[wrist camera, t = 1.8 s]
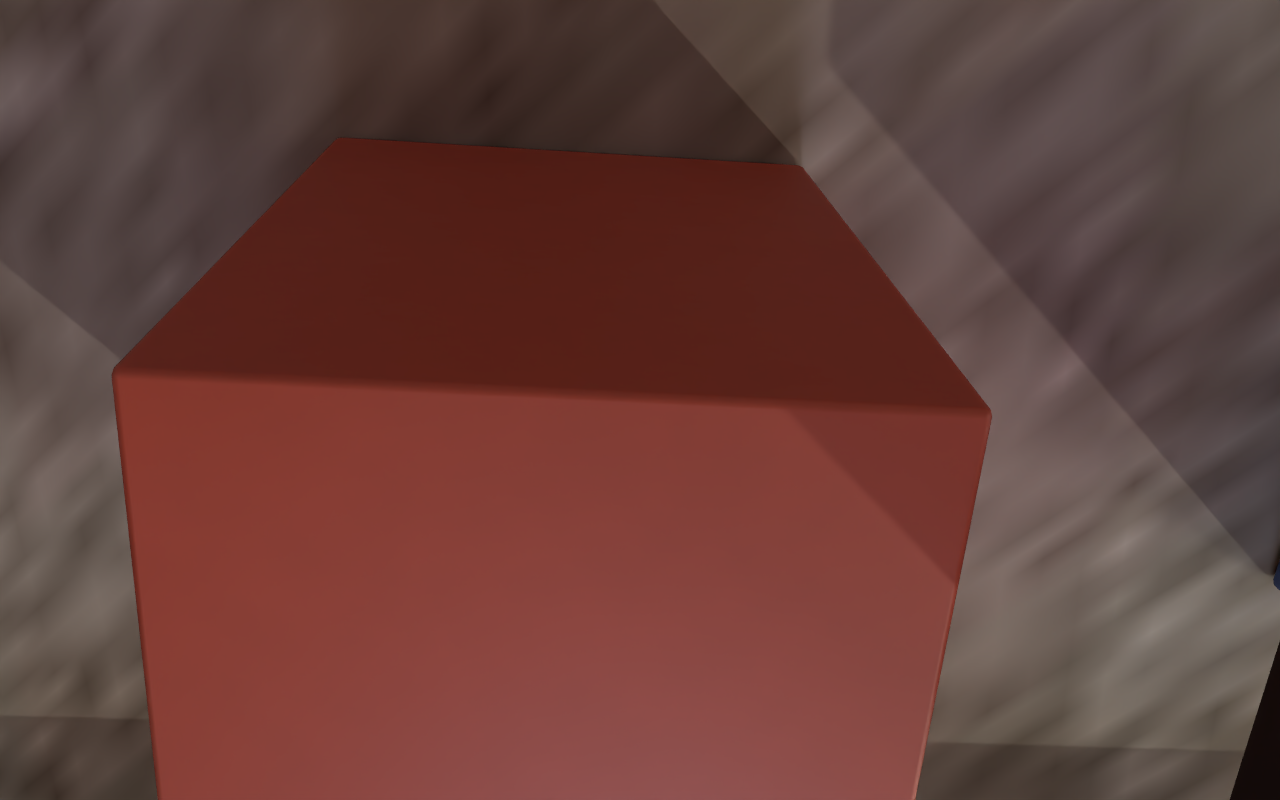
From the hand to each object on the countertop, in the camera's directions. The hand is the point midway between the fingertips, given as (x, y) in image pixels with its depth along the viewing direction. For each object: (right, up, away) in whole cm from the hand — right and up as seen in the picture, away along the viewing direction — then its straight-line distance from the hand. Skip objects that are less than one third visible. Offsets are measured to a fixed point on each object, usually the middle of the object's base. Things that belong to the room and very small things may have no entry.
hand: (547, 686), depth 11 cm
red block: (0, +3, +6) cm, 7 cm away
